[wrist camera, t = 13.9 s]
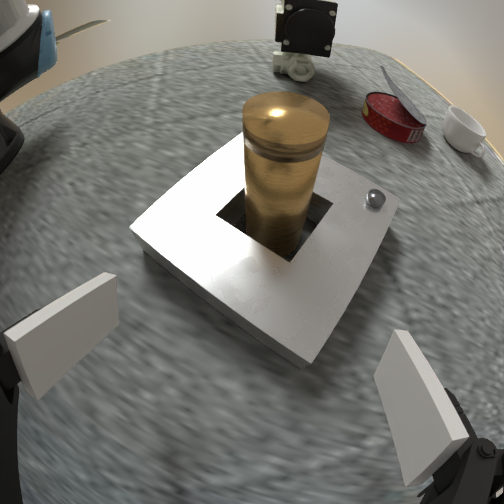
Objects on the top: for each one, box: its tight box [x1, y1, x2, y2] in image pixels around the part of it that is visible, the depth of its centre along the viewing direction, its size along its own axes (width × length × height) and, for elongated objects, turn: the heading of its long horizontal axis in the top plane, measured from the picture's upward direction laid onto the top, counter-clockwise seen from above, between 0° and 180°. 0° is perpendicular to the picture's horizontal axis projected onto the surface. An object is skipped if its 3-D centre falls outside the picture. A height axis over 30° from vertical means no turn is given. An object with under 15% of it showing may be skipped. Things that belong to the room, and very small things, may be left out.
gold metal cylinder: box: [243, 92, 330, 257], centre depth 18 cm, size 5×5×12 cm
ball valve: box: [273, 0, 338, 82], centre depth 33 cm, size 18×8×18 cm, turn 176°
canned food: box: [362, 66, 426, 143], centre depth 31 cm, size 11×10×10 cm
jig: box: [129, 132, 401, 369], centre depth 22 cm, size 16×16×4 cm
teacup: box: [442, 105, 486, 158], centre depth 30 cm, size 10×8×5 cm
